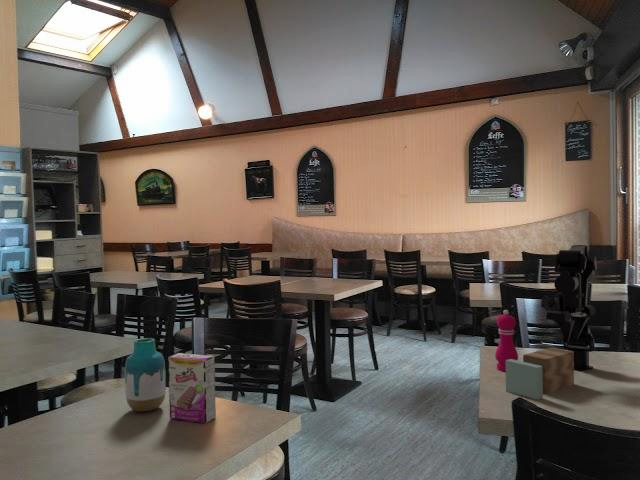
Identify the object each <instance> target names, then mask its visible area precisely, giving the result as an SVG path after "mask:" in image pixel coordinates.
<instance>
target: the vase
mask: <svg viewBox="0 0 640 480" xmlns="http://www.w3.org/2000/svg"><path fill="white" fill-rule="evenodd" d="M155 340H156V339H155V338H152V337H145V338H143V337H142V338H137V339H135V340H134V341H133V351H132V354H130V355H129V356H128V357H127V358H126V359H125V364H124V390H125V398H126V399H125V400H126V403H127V405H128V407H129V409H131V410H133V411H136V412H142V413H143V412H150V411H153V410H154V411H155V409H158V408H159V407H161V405H163V402H164V401H165V399H166V398H165V397H166V390H167V389H166V387H167V380H166V379H167V375H166V374H167V373H166V361H165V358H164V356H163V354H162V353H161V352H159V351H157V349H156V341H155Z"/></svg>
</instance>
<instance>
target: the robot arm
mask: <svg viewBox="0 0 640 480" xmlns="http://www.w3.org/2000/svg"><path fill="white" fill-rule="evenodd" d="M555 257H556V258H555V263H554V264H555V265H554V273H559V275H558V276H557V277H556V279H555V280H554V285H553V286H554V288H555V290H556V291H557V292H559V293H557V294H556V297H555V298H550V297H549V296H547V297H542V298H541V303H540V307H542V308H543V309H544V310H545V319H546V320H548V321H553V322H555V323H556V324H557V325H558V327H559V330H560V332H561V335H562V345H563V350H568V351H574V370H577V371H579V372H580V371H586V370H587V371H588V370H591V369H594V366H592V365H590V353H592V352H595V349H596V347H595V338H594V336H593V334H592V333H591V330H590V326H589V325H588V323H587V322H588V321H589V320H590V319H591V317H590V316H594V315H596V307H594V306H593V305H588V293H589V283H590V282H591V281H592V280H593V278H595V271H597V269H598V268H597V267H598V265H597V257H596V254H594V252H592V251H591V250H590V249H589V246H588V245H586V244H573V245H571V247H570V249H559V251H558V253H556V256H555ZM588 315H589V316H588Z"/></svg>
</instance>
